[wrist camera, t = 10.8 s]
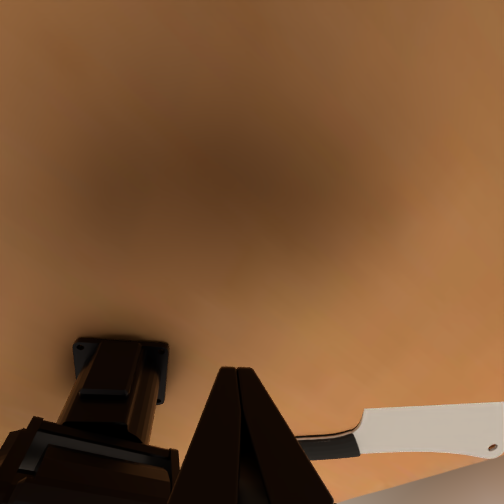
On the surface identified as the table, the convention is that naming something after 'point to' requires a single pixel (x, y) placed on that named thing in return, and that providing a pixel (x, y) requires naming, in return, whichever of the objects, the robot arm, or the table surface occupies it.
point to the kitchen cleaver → (416, 432)
